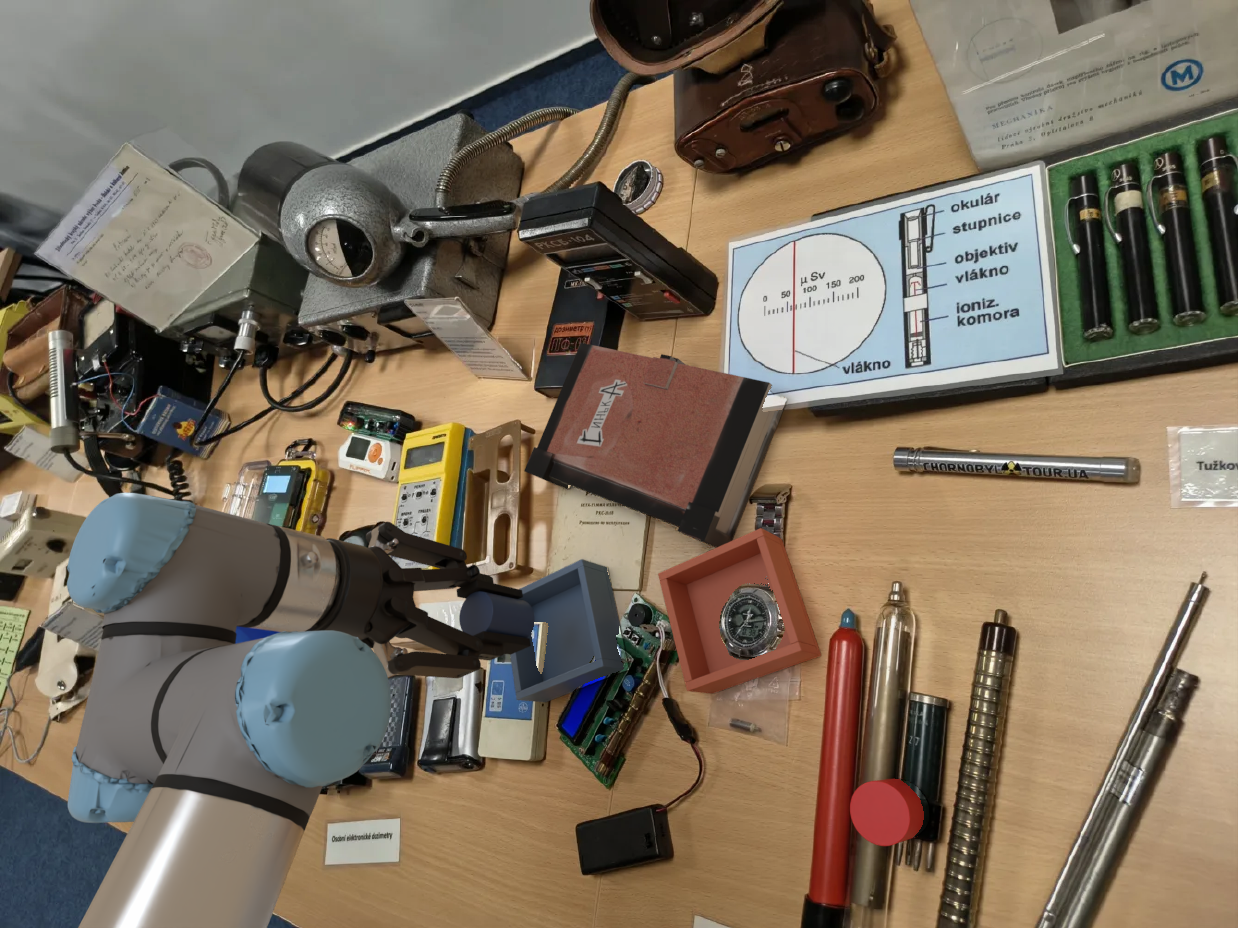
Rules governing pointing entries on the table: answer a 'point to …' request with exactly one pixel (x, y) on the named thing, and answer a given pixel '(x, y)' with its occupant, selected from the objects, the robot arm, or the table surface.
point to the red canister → (886, 812)
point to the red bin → (705, 590)
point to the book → (658, 439)
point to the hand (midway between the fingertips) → (516, 621)
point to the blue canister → (496, 615)
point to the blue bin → (569, 632)
